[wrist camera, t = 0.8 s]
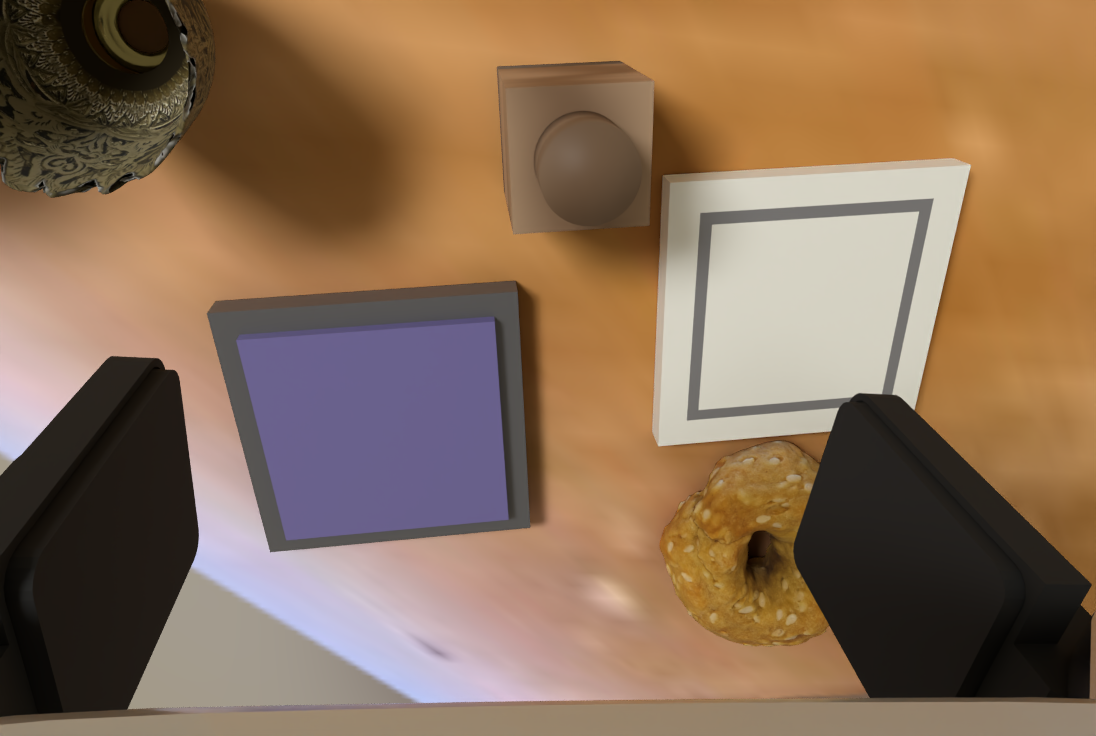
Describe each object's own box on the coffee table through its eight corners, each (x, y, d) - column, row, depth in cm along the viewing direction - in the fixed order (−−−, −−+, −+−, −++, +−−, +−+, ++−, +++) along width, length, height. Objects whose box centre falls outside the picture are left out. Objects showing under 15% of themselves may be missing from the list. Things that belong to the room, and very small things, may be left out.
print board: (953, 158, 31) (970, 165, 30) (897, 410, 36) (911, 424, 35) (662, 175, 30) (670, 182, 29) (652, 432, 35) (658, 446, 34)
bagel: (863, 425, 37) (913, 486, 33) (825, 592, 42) (865, 662, 38) (661, 437, 36) (686, 501, 32) (649, 605, 41) (669, 679, 37)
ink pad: (515, 280, 31) (518, 296, 30) (528, 511, 37) (531, 534, 35) (215, 301, 30) (203, 318, 29) (275, 535, 36) (268, 559, 34)
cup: (241, 167, 28) (168, 234, 21) (19, 101, 26) (-141, 151, 19) (277, -51, 25) (207, -57, 18) (29, -143, 23) (-157, -189, 16)
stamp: (619, 60, 28) (670, 90, 21) (618, 183, 30) (664, 245, 23) (497, 66, 27) (509, 98, 21) (504, 190, 30) (517, 255, 23)
